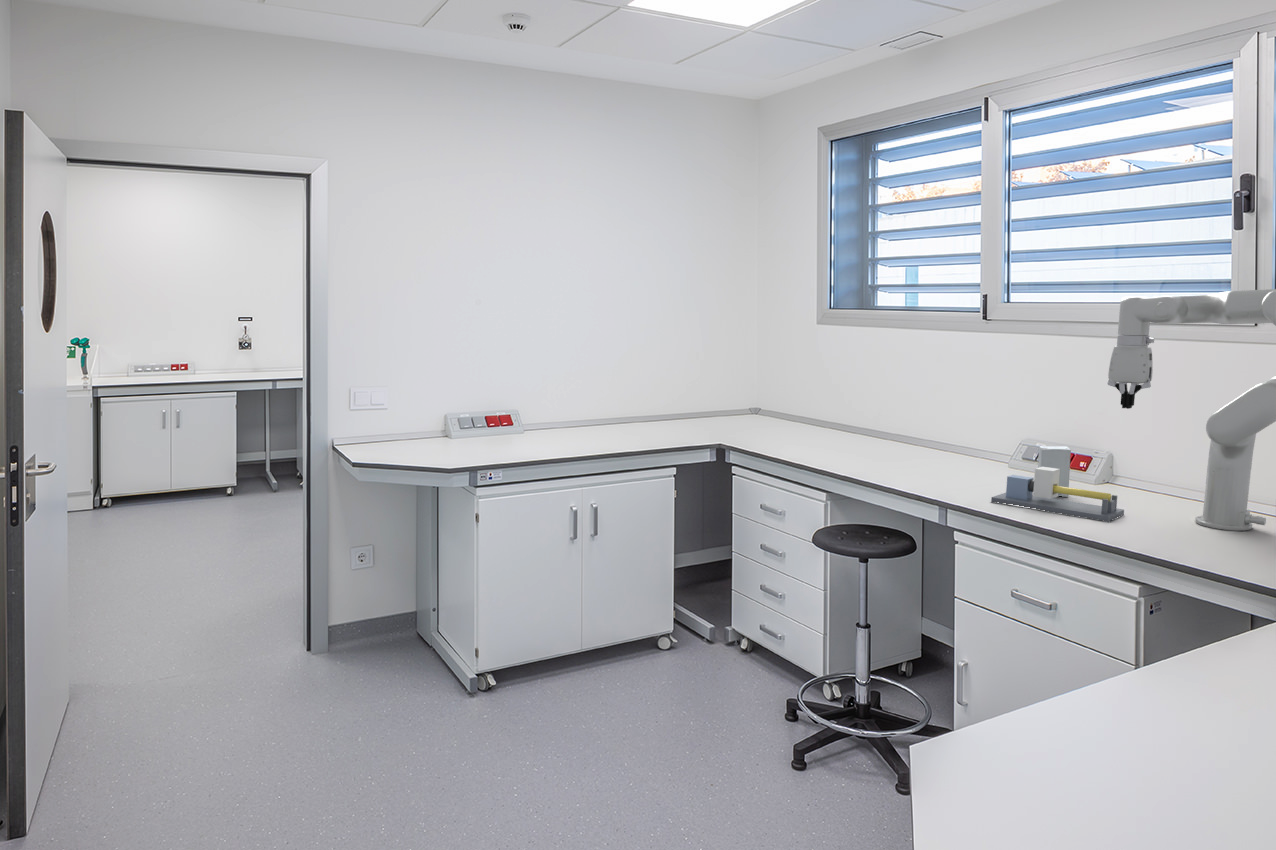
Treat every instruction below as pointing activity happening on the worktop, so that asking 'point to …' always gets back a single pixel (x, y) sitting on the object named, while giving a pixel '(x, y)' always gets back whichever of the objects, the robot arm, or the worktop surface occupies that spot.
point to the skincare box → (1056, 462)
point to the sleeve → (1045, 482)
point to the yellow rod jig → (1058, 500)
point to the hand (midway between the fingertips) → (1126, 407)
